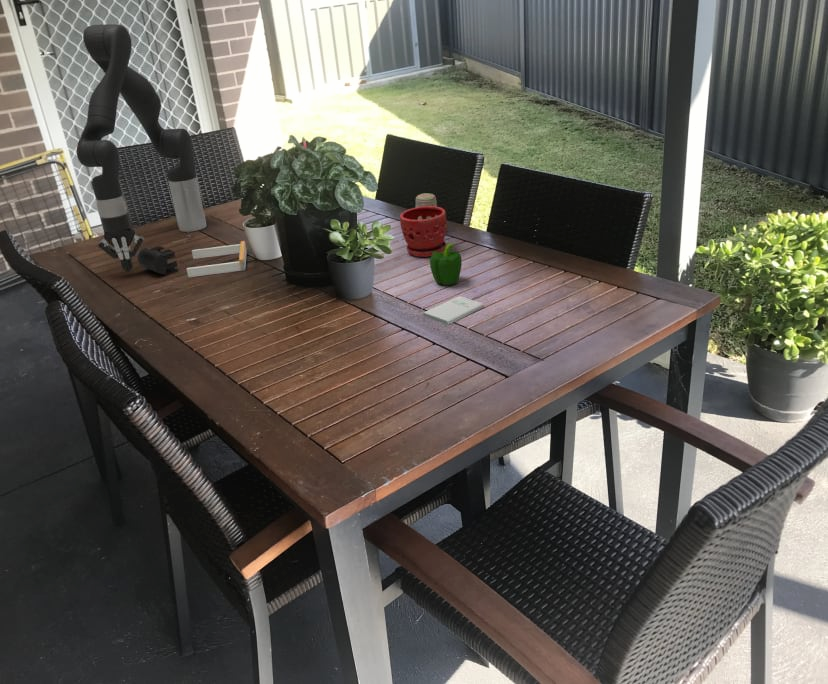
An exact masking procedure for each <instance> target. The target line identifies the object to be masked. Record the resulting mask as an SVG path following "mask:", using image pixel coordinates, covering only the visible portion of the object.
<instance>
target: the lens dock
mask: <svg viewBox="0 0 828 684" xmlns="http://www.w3.org/2000/svg"><path fill="white" fill-rule="evenodd" d="M191 253H192V258H193V260H196V259H203V258H204V259H205V258H212V257H218V256H219V257H220V256H228V255H235V254H239V256H238V261H232V262H225V263H216V264H209V265H201V266H194V267H193V266H192V267H187V268H186V273H187V277H188V278H194V277H196V278H197V277H202V276H210V275H211V276H212V275H218V274H224V273H225V274H226V273H232V272H240V271H246V266H247V253H248V252H247V245H246V241H245V240H242V241H240V243H237V244H230V245H223V246H214V247H205V248H198V249H197V248H196V249H192V250H191Z"/></svg>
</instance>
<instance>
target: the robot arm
mask: <svg viewBox="0 0 828 684" xmlns="http://www.w3.org/2000/svg"><path fill="white" fill-rule="evenodd" d="M82 38H83V44H84V47H85V49H86V51H87V53H88V54H89V56H90V57H91V59H92V60H93V61H94V62H95V64H96V65H97V66H98V67H99V68H100V70H102V71H103V73H104V75H103V77H102V78H101V80H100V81H99V83H98V84H97V85H96V87H95V89H93V91H92V94H91V95H90V99H89V102H88V108H87V119H86V124H85V126H84V128H83V130H82V133H81V135H80V137H79V140H78V142H77V146H76V156H77V159H78V161H79V163H80V164H81V165H82V166H84V167H87V168H101V169H102V171H101V174H98V175H96V176H94V177H93V178H92V179H91V186H92V190H93V194H94V196H95V197H94V198H95V201H96V207H97V212H98V215H99V219H100V222H101V225H102V229H103V239H102V240H100V241H99V243H97V246H98V248H100V249H101V250H102V251H104V252H105V253H106V254H107V255H108V256H109V257H111V258H112V259H114V260H115V259H119V260H120V265H121V267H122V268H121V269H122V270H124V271H125V272H132V270H133V269H134V262H133V259H132V258H133V257H136V254H137V253H138V250H139V249H140V247H141V246H142V243H143V242H144V240H145V237H144V236H143V235H141V236H140V235H139V234H136V231H135V230H134V229H133V226H132V224H131V220H130V215H129V211H128V207H127V203H126V201H125V198H124V194H123V191H122V187H121V184H120V154H119V150H118V148H117V146H116V144H114V142H112V141H111V140H108V139H103V138H104V137H106V136H109V135H112V134H113V133H114V131H115V128H116V122H117V121H116V119H117V111H118V110H117V109H118V103H119V98H120V96H121V97H122V98H123V100H124V101H125V104H127V106H128V107H129V109H130V110H131V112H132V113H133V114H134V115H135V117H136V119H137V120H138V122H139V123H140V125H141V126H142V128H143V129H144V131H145V133H146V135H147V136H148V139H149V140H150V142H151V144H152V146H153V149H155V151H156V153H157V155H159V156H160V157H161V158H163V159H178V160H179V164H178V165H176V166H175V167H173V168H171V169H168V170H167V172H166V177H167V180H168V185H169V189H170V194H171V199H172V203H173V207H174V211H175V217H176V221H177V225H178V229H179V231H180V232H184V233H185V232H186V233H190V232H196V231H200V230H203V229H205V228H206V227H208V226H207V220H206V215H205V210H204V205H203V201H202V195H201V191H200V187H199V182H198V177H197V169H196V161H195V155H194V149H193V142H192V139H191V135H190V132H189V131H188V130H187V129H186V128H167V129H166V128H163V126H161V124H160V123H159V119H160V118H159V117H160V114H161V111H162V110H161V109H162V102H161V98H160V96H159V94H158V93H157V91H156V89H155V88H154V86H153V85H152V83H151V82H150V80H148V79H147V78H146V77H144V76H143V75H142V74H141V73H139V72H138V71H136V70H135V69H133V68H131V67H130V66H129V62H130V59H131V54H132V45H133V44H132V38H131V34H130V33H129V31H128V29H127V28H126V27H125V26H124V25H121V24H115V23H113V24H111V23H110V24H92V25H89V26H86V28H85V29H84V30H83V36H82ZM133 240H134V243H135V245H134V247H133V249H132V250H131V244H132V242H133ZM109 244H110V245H109ZM111 246H112V247H111ZM113 248H114V249H113Z"/></svg>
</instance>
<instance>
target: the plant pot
mask: <svg viewBox="0 0 828 684" xmlns="http://www.w3.org/2000/svg"><path fill="white" fill-rule="evenodd" d="M435 215H437V216H436V217H435ZM419 216H421V217H422V220H418V217H419ZM427 216H430V217H432V218H429V219H426V217H427ZM399 221H400V228H401V233H402V235H403V239H404V242H405V243H406V244H407V246H406V251H407V252H408V254H410V255H412V256H415V257H418V258H419V257H423V258H426V257H428V258H431V256H432V254H433V252H440V253H441V252H442V251H444V250H445V248H446V246H447V242H446V241H445V237H446V233H447V213H446V210H445V209H444V208H443V207H441V206H440V207H439V206H437V207H434V206H423V207H416V208H415V207H413V208H409V209H406V210H405V211H403V212H401V213H400V215H399Z"/></svg>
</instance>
